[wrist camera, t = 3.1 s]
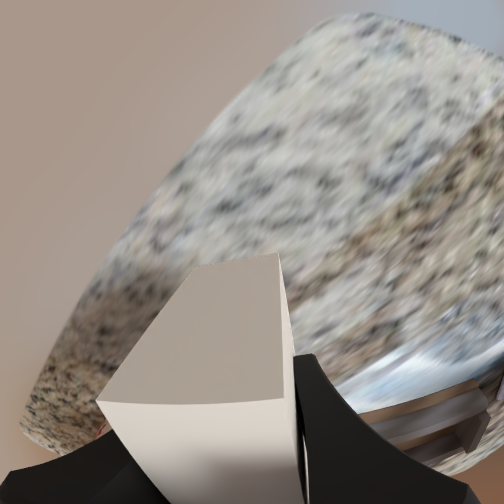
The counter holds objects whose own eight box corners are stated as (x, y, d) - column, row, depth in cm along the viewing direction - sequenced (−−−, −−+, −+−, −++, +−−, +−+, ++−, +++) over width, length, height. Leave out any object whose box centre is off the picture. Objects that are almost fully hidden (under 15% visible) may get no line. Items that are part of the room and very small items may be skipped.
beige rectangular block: (278, 252, 10) (283, 398, 4) (302, 402, 12) (311, 543, 5) (194, 266, 11) (95, 400, 4) (236, 409, 12) (213, 545, 6)
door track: (473, 378, 18) (495, 406, 14) (456, 429, 20) (471, 457, 16) (287, 426, 20) (288, 467, 16) (296, 470, 22) (297, 505, 18)
